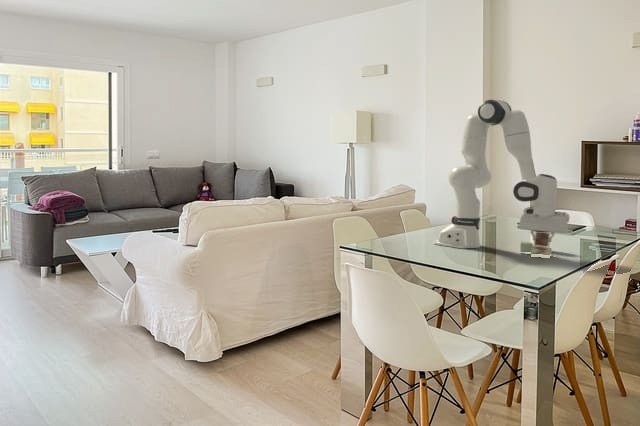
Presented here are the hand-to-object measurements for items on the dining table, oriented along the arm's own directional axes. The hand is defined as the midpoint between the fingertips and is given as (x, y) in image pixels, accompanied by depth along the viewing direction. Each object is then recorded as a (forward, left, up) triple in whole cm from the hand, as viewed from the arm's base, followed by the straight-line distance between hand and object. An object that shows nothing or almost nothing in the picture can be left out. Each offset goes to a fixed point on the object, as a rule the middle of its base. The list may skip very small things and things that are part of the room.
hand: (541, 241), depth 249 cm
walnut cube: (0, 0, -2) cm, 2 cm away
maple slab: (0, 0, -7) cm, 7 cm away
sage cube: (-7, +4, -7) cm, 11 cm away
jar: (-2, +16, -7) cm, 18 cm away
